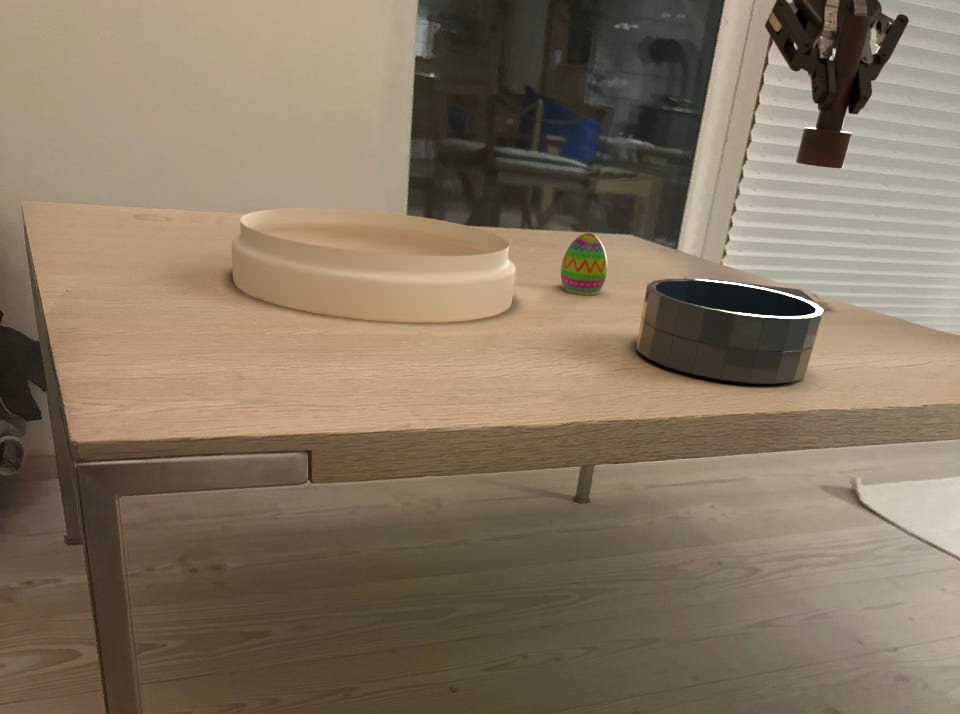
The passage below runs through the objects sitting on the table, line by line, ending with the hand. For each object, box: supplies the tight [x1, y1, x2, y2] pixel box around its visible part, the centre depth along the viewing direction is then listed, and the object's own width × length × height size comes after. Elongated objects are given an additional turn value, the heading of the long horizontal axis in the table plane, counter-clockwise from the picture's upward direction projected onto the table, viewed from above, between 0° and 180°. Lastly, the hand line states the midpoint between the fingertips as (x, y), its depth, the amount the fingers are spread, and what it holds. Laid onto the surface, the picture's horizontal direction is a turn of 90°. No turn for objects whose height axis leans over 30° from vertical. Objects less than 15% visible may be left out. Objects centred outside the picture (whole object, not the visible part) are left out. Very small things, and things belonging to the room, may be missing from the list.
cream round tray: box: [231, 207, 516, 324], centre depth 89 cm, size 27×27×6 cm
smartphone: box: [684, 276, 829, 311], centre depth 107 cm, size 7×15×1 cm, turn 87°
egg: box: [560, 232, 608, 296], centre depth 98 cm, size 5×5×6 cm
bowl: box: [635, 278, 825, 385], centre depth 77 cm, size 14×14×6 cm
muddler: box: [795, 14, 871, 170], centre depth 86 cm, size 4×4×12 cm
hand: (843, 104), depth 85 cm, fingers closed on muddler, 2 cm apart
